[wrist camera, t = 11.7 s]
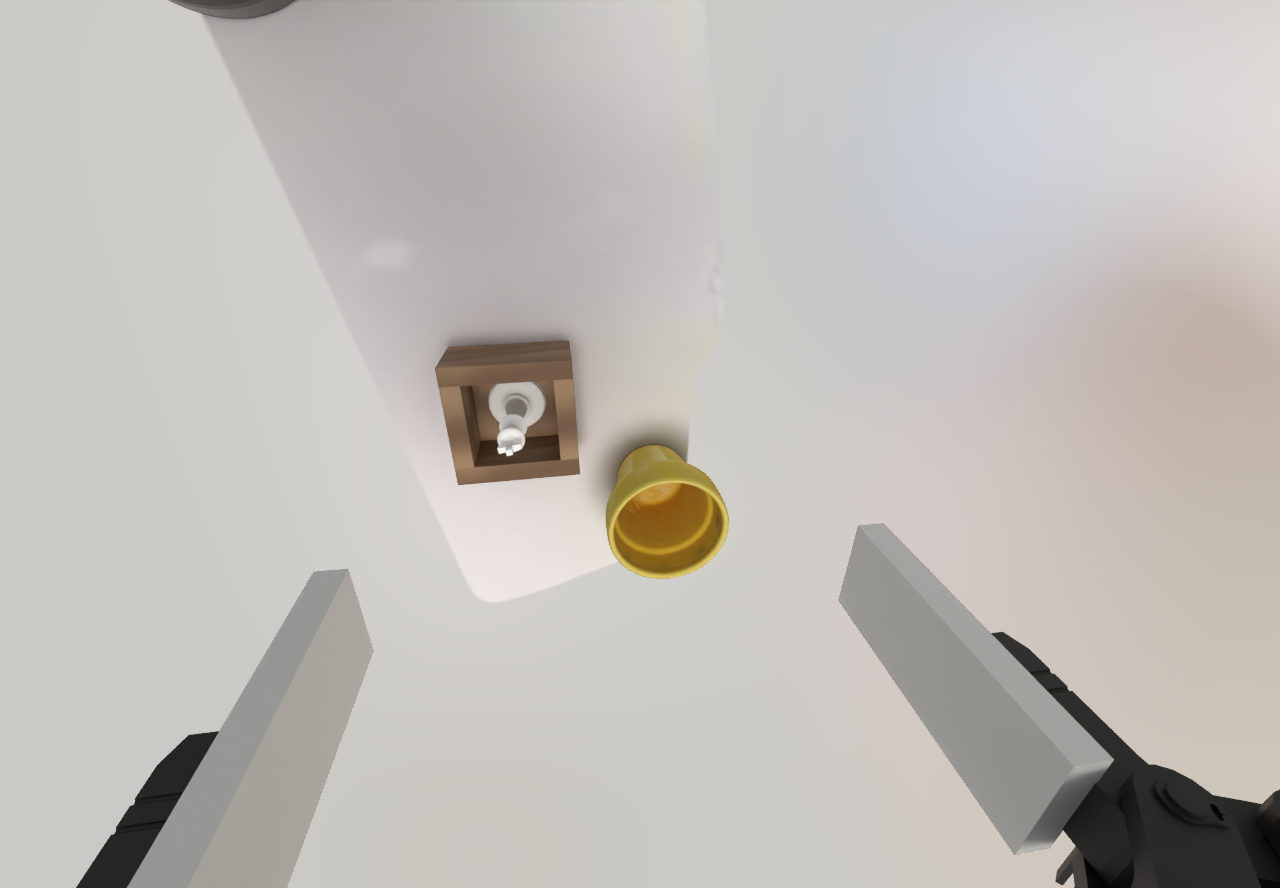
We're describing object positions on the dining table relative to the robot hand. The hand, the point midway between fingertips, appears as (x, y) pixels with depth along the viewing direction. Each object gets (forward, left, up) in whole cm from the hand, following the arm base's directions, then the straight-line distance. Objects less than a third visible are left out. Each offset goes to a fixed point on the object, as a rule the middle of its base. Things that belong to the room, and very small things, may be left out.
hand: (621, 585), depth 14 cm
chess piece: (+7, -5, -33) cm, 34 cm away
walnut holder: (+7, -5, -34) cm, 35 cm away
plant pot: (+16, +7, -34) cm, 38 cm away
